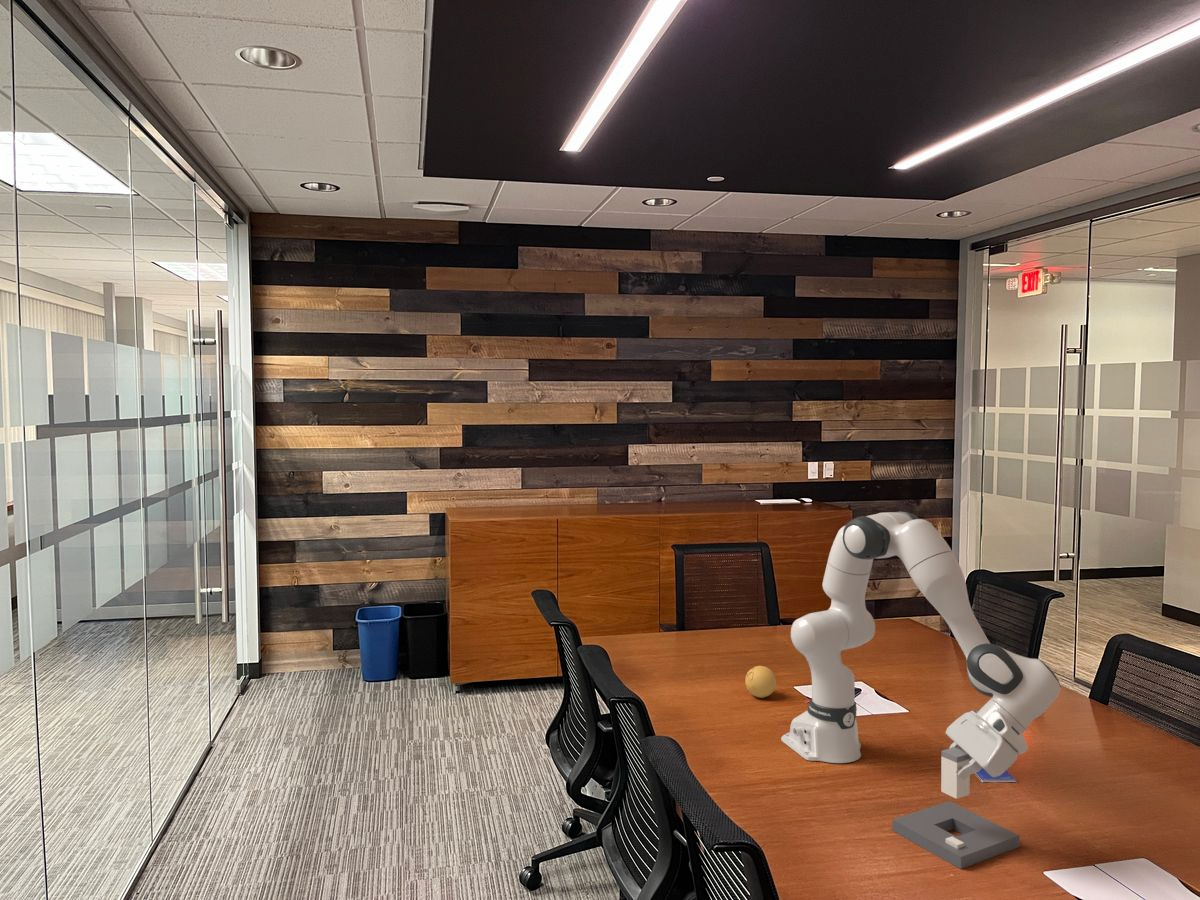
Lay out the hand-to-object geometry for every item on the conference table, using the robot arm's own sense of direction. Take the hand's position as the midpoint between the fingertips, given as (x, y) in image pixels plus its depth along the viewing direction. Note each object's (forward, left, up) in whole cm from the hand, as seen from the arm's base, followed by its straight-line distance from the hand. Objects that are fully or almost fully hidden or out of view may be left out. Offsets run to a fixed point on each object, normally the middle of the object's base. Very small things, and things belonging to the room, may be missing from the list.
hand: (952, 769), depth 184 cm
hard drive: (-18, +36, -16) cm, 43 cm away
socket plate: (0, +1, -15) cm, 15 cm away
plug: (0, +1, -5) cm, 5 cm away
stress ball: (-92, +21, -15) cm, 95 cm away
